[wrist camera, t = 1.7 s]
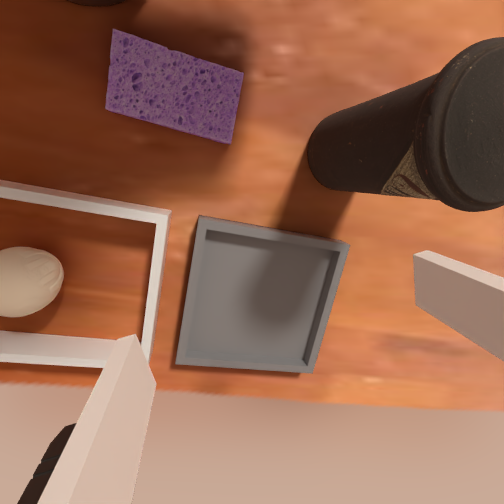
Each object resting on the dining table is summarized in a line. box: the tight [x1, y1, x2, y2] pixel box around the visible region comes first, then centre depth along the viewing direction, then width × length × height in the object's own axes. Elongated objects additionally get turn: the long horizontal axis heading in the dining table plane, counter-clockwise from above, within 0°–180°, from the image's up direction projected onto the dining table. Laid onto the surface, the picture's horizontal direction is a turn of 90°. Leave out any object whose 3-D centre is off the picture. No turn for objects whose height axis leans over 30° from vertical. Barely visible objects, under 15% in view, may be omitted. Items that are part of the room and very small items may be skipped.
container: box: [308, 37, 504, 212], centre depth 24 cm, size 9×9×20 cm
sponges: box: [105, 29, 244, 144], centre depth 29 cm, size 7×13×2 cm, turn 76°
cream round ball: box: [0, 247, 64, 317], centre depth 28 cm, size 7×7×7 cm
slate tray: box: [175, 215, 350, 373], centre depth 36 cm, size 18×18×2 cm
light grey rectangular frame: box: [0, 180, 172, 368], centre depth 30 cm, size 26×18×4 cm
